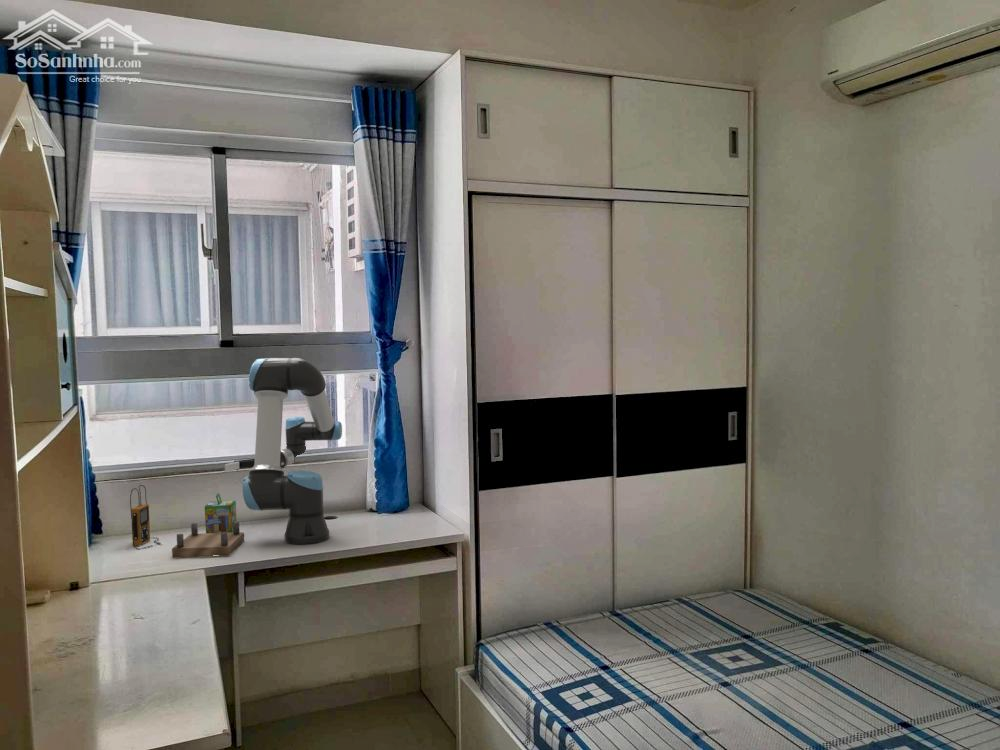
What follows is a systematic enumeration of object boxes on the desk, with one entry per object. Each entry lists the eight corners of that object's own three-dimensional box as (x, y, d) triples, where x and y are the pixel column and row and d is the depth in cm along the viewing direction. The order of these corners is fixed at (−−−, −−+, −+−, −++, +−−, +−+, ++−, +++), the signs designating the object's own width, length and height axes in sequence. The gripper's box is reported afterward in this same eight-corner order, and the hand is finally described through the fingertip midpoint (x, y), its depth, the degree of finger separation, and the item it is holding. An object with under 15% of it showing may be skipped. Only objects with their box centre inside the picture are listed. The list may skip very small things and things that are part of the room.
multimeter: (156, 549, 259) (154, 490, 258) (127, 549, 260) (124, 490, 258) (175, 537, 274) (173, 481, 273) (147, 538, 274) (145, 482, 273)
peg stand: (244, 540, 268) (243, 520, 268) (229, 555, 250) (228, 534, 250) (191, 542, 267) (190, 522, 267) (172, 557, 249) (171, 536, 249)
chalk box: (232, 537, 273) (230, 495, 272) (205, 538, 272) (203, 497, 271) (238, 531, 282) (236, 490, 281) (211, 532, 281) (210, 491, 280)
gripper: (304, 471, 298) (265, 482, 279) (255, 467, 309) (214, 477, 289) (304, 452, 297) (265, 461, 278) (254, 448, 308) (213, 457, 289)
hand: (239, 469), depth 284 cm, fingers open, 13 cm apart
